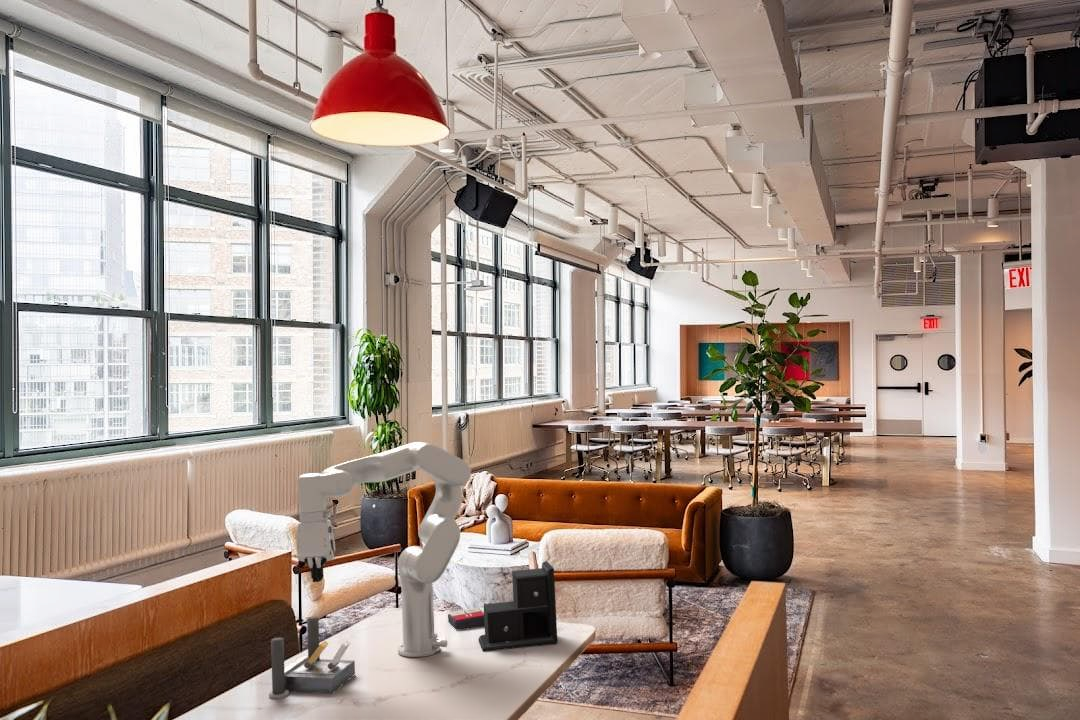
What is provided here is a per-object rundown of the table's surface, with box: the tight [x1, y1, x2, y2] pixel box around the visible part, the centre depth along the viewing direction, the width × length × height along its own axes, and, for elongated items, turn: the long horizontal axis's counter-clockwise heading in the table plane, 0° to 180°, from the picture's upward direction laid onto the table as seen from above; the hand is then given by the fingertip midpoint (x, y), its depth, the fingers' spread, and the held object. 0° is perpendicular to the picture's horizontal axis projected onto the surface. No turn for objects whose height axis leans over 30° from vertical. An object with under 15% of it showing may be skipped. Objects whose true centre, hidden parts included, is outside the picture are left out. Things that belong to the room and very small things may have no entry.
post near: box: [268, 637, 290, 700], centre depth 226 cm, size 5×5×15 cm
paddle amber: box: [304, 640, 329, 668], centre depth 235 cm, size 2×4×8 cm
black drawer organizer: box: [478, 560, 559, 652], centre depth 264 cm, size 23×11×24 cm, turn 101°
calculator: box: [447, 606, 485, 630], centre depth 287 cm, size 11×4×15 cm
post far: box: [306, 615, 321, 659], centre depth 246 cm, size 5×5×15 cm
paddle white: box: [328, 640, 351, 669], centre depth 233 cm, size 2×4×8 cm
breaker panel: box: [284, 656, 356, 694], centre depth 234 cm, size 16×14×5 cm
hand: (317, 580), depth 243 cm, fingers closed
